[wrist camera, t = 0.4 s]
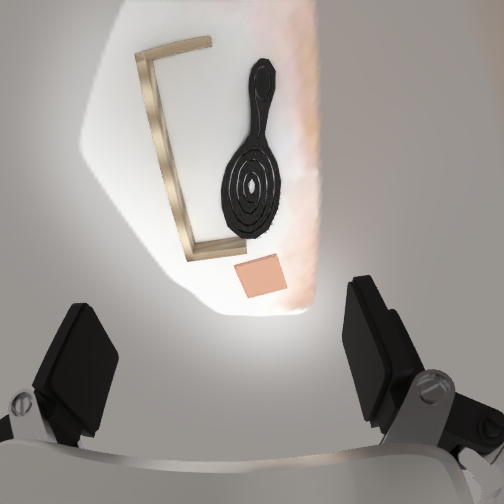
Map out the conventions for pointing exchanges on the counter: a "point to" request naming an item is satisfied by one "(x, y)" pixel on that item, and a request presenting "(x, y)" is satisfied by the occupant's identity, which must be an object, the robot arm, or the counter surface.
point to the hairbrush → (253, 166)
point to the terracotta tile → (261, 276)
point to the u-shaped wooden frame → (166, 158)
